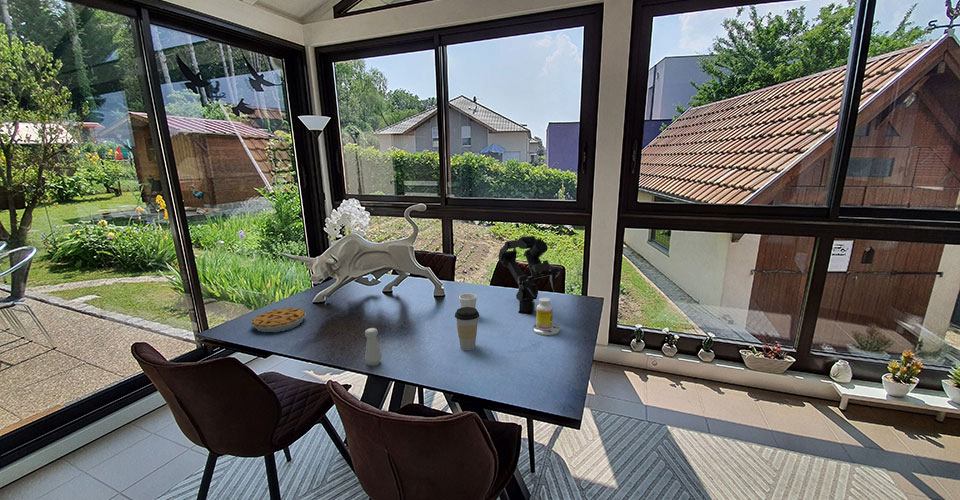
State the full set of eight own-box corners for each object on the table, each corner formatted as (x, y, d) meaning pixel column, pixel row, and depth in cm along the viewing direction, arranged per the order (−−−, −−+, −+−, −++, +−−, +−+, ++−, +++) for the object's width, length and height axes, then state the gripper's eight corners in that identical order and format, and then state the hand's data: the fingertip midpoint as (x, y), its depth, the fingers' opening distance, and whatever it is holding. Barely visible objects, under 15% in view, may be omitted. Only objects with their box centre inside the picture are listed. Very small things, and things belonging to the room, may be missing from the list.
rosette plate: (529, 326, 168) (529, 324, 168) (552, 323, 171) (552, 321, 171) (539, 337, 158) (539, 334, 157) (563, 333, 160) (563, 331, 160)
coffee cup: (461, 354, 144) (460, 316, 141) (451, 344, 152) (450, 308, 149) (484, 349, 148) (483, 312, 145) (473, 339, 156) (472, 304, 153)
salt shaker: (367, 359, 142) (364, 326, 139) (383, 358, 142) (380, 325, 139) (363, 367, 136) (360, 333, 133) (380, 366, 136) (377, 332, 134)
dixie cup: (467, 321, 175) (466, 300, 173) (455, 316, 181) (455, 296, 179) (481, 316, 181) (480, 296, 178) (469, 311, 187) (469, 292, 185)
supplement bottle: (552, 331, 160) (552, 302, 157) (535, 330, 161) (536, 301, 159) (552, 325, 167) (552, 297, 164) (536, 324, 168) (537, 296, 165)
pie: (276, 314, 189) (275, 304, 188) (316, 317, 184) (315, 307, 183) (240, 332, 168) (239, 321, 167) (284, 336, 163) (282, 325, 162)
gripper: (515, 260, 166) (525, 294, 161) (556, 250, 168) (568, 284, 162) (513, 268, 177) (523, 300, 171) (552, 259, 178) (563, 291, 173)
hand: (544, 294), depth 169 cm, fingers open, 9 cm apart
